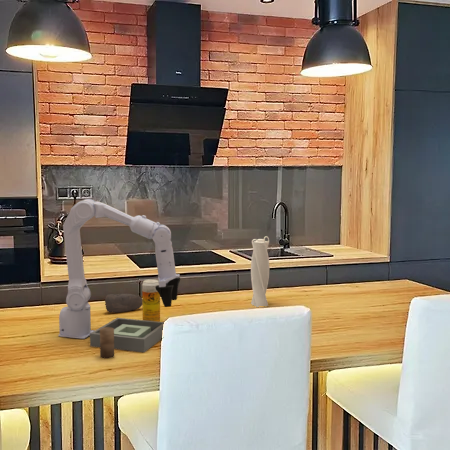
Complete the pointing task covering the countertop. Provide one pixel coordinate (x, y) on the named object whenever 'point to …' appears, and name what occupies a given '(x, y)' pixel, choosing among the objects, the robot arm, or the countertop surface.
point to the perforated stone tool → (122, 302)
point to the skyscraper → (259, 271)
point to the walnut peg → (107, 342)
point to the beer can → (150, 301)
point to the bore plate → (132, 331)
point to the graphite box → (131, 342)
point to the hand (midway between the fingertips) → (170, 303)
